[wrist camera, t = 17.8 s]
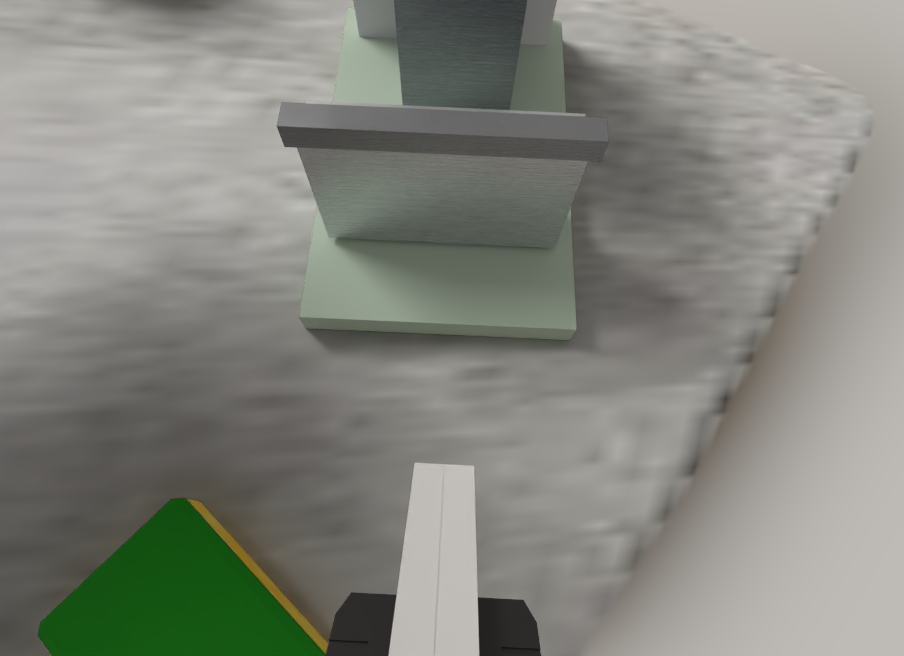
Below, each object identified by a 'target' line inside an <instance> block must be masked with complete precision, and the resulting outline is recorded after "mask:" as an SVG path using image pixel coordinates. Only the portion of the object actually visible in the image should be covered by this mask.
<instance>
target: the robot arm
mask: <svg viewBox="0 0 904 656" xmlns="http://www.w3.org/2000/svg"><path fill="white" fill-rule="evenodd" d="M325 656H541V654H540V643H539V636H538V629H537V623H536V621H535V619H534V617H533V616H532V614H531V612H530V610H529V609H528V607H527V605H526V604H525V602H524V600H513V599H494V598H478V591H477V555H476V518H475V482H474V466H469V465H450V464H430V463H415V464H414V471H413V479H412V486H411V493H410V501H409V508H408V516H407V523H406V530H405V538H404V545H403V552H402V560H401V567H400V574H399V582H398V589H397V595H388V594H369V593H351V594H350V595H349V596H348V598H347V599H346V601H345V602H344V603H343V605H342V606H341V607H340V609H339V610H338V612H337V613H336V615H335V619H334V623H333V627H332V631H331V635H330V639H329V645H328V647H327V651H326V655H325Z"/></svg>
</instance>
